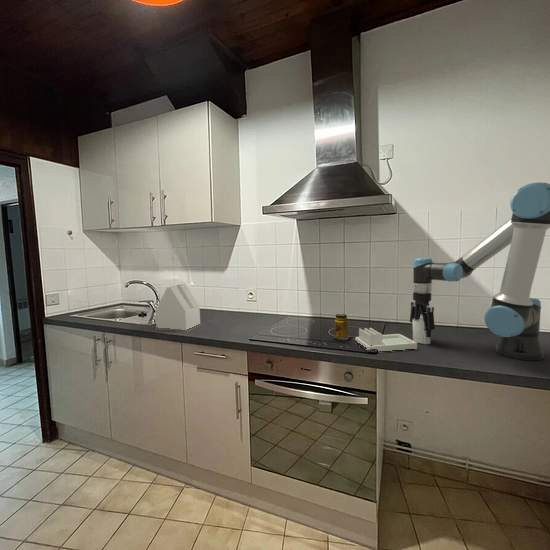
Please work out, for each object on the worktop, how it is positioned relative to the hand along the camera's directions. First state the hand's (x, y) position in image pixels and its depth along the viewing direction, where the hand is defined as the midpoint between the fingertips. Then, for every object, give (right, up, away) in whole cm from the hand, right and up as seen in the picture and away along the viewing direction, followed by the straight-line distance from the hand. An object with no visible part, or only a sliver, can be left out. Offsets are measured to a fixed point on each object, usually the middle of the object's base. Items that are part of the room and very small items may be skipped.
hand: (421, 340), depth 142 cm
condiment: (-34, -1, +8) cm, 35 cm away
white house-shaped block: (-124, -1, +39) cm, 130 cm away
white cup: (0, 0, 0) cm, 0 cm away
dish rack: (-18, -1, -5) cm, 19 cm away
